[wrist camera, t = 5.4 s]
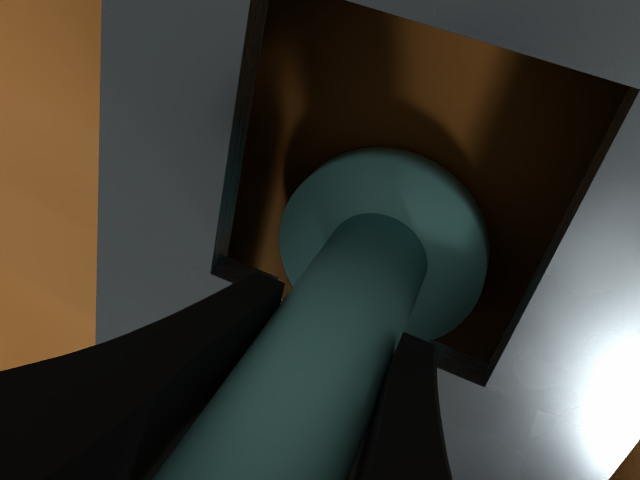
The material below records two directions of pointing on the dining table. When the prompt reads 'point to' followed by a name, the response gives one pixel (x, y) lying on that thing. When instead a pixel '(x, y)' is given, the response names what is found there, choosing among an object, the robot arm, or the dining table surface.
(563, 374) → the keyhole plate
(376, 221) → the peg
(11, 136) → the dining table surface
